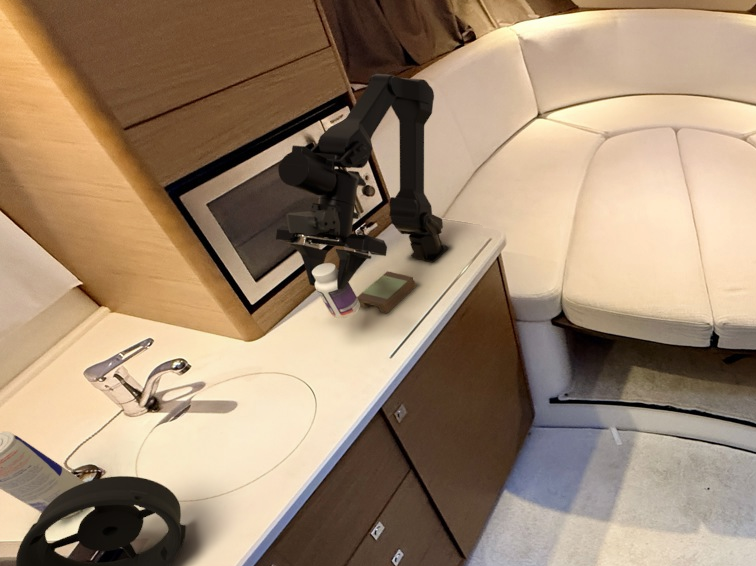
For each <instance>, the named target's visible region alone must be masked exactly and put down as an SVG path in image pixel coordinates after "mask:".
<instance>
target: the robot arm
mask: <svg viewBox="0 0 756 566" xmlns="http://www.w3.org/2000/svg"><path fill="white" fill-rule="evenodd" d="M434 100H435V92H434V89H433V88H432V86H430V84H429V83H428V81H427V80H425V79H424V78H423V79H422V78H408V77H407V78H405V77H399V76H396V75H394V74H382V73H374V74H373V75H370V77H369V80H368V84H367V86H366V87H365V89H364V91H362V93H361V95H360V97H359V98H358V100H357V101H356V102H355V104H354V106H353V107H352V108H351V110H350V111H349V113H348V114H347V116H346V117H345V118H344V119H343V120H342V121H340V122H337V123H335V124H333V125H330V127H328V128H327V129H326V130H325V131H324V132H323V133H322V134H321V135H320V136H319V139H318V141H317V143H316V144H315V145H314V146H313V147H312V148H311V149H310V148H308V147H306V146H304V145H291V152H289V153H287V154H286V155H284V157H283V158H282V159H281V161H280V162H279V163H278V167H277V168H278V169H277V171H278V177H279V178H280V180H281V181H282V182H283V183H284V184H285V185H287V186H290V187H292V188H296V189H298V190H300V191H303V192H306V193H308V194H311V195H314V196H318V203H317V202H316V203H315V202H312V204H311V205H310V210H308V211H297V212H289V213H286V219H287V225H280V226H279V227H278V228H277V229H276V233H275V234H276V235H275V240H276V241H280V242H284V243H288V244H289V245H290V247H292V248H295V250H296V251H297V252H298V253H299V255H300V256H301V259H302V261H303V264H304V269H305V272H306V275H307V279H308V282H309V285H310V286H313V287H315V281H316V280H315V278H314V276H313V274H312V270H313V269H314V268H315V267H317V266H318V265H321V264H324V263H325V261H326V257H327V254H328V250H325V249H321V247H320V246H321V245H324V246H332V247H340V248H343V249H340V248H335V252H336V254H337V256H338V260H339V261H338V268H337V269H338V278H337V288H338V289H341V290H343V289H344V288H345V286H346V285H347V283H348V282H349V283H350V281H351V280H352V278H353V276H354V275H355V274H356V273H357V271H358V270H359V269H360V268H361V266H363V264H364V263H365V262H366V261H367V260H371V259H372V256H371V255H374V256H382V257H387V251H388V245H387V244H386V241H385V240H384V239H381V238H377V237H374V236H371V235H367V234H359V233H353V224H354V220H359V217H360V213H358V212H355V208H356V200H357V191H358V186H360V187H366V186H367V182H366V181H365V179H364V178H363V177H362V176H361V174H360V172H359V171H356V170H345V169H352V168H353V169H362V168H364V167H365V166H366V165H367V164H368V162H369V159H370V157H371V154H372V151H373V142H372V138H373V135H374V134H375V132H376V131H377V129H378V127H379V126H380V124H381V123H382V121H383V119H384V118H385V117H386V114H388V111H389V110H390V108H391V110H393V112H394V114H395V116H396V117H397V120H398V126H399V132H398V133H399V191H398V192H397V194H396V196H395V197H394V196H391V197H390V199H389V214H388V216H389V217H390V222H391V225H393V226H394V228H395V229H396V230H397V231H398V232H399V233H400V234H401V235H408V239H409V241H410V244H409V245H410V247H411V250H412V253H411V254H410V257H411V258H413V259H416V260H420V261H426V262H431V263H433V262H436V260H437V259H439V258H440V257H441V256H442V255H443V254H444V253H445V252H447V250H448V249H449V246H448V245H444V244H443V242H442V239H441V236H440V235H441V234H442V233H443V232H442V230H443V228H444V223H443V218H441V217H439V216H437V215H435V214H433V210H432V204H431V203H430V201H429V199H428V197H427V196H426V194H425V125H426V123H427V122H428V120H429V119H430V117H431V116H432V114H433V108H434ZM343 168H345V169H343ZM369 254H370V255H369Z"/></svg>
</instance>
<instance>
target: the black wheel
mask: <svg viewBox="0 0 756 566" xmlns="http://www.w3.org/2000/svg"><path fill="white" fill-rule="evenodd" d="M84 482H85V483H82V484H80V485H77V486H75V487H73V488H71V489H69V490H67V491H65V492H64V493H62V494H61V495H59V496H58V497H56V498H55V499H54V500H53V501H52V502H51V503H50V504H49V505H48V506H47V507H46V508H45V509H44V511H43V512H42V513H41V514H40V516H39V517H38V519H37V521H36V522H35V523H33V524H32V525H31V527H30V528H29V529H28V531H27V532H26V534H25V536H24V537H23V539H22V541H21V543H20V545H19V547H18V550H17V554H16V560H15V564H16V566H170V565H171V564H172V563H173V561H174V560H175V559H176V557H177V556H178V554H179V552H180V550H181V549H182V546H183V544H184V541H185V538H186V533H187V525H186V524H182V523H181V518H182V508H181V504H180V501H179V499H178V497H177V496H176V495H175V494H174V492H172V490H170V489H169V488H168V487H166V485H165V486H164V485H163V484H161V483H160V482H157V481H156V480H155V481H154V480H151V479H148V478H145V477H138V476H129V475H128V476H127V475H118V476H107V477H101V478H96V479H92V480H89V481H84ZM138 507H139V508H138ZM91 508H94V509H92V510H91V511H89V512H88V513H87V514H86V515H85V516H84V517H83V518H82V520H81V521H80V523H79V525H78V528H77V532H76V533H73V534H71V535H68V536H66V537H63V538H59V539H58V540H54V541H53V542H48V540H47V535H46V532H47V531H48V530H49V529H50V528H52V526H54V524H56V523H57V522H59V521H61V520H62V519H65V518H64V517H66V516H68V515H70V514H72V513H74V512H77V511H79V512H81V511H83V510H86V509H91ZM140 508H141V509H140ZM142 508H143V509H142ZM80 510H81V511H80ZM77 513H78V512H77ZM154 514H156V515H157V516H158V517H160V518H161V519H162V520H163V521H164V523H165V524H166V526H167V532H166V533H165V534H164V536H163V537H162V538H161V539H160V540H159V541H158V542H157V543H155V544H154V545H153V546H151V547H150V548H148V549H146V550H144V551H142V552H138V553H137V552H136V550H135V548H134V546H133V545H132V543H133V542H134V541H135V540H136V539H137V538H138V537H139V536H140V534H141V532H142V529H143V526H144V523H145V521H144V518H147V517H149V516H152V515H154ZM66 518H67V517H66ZM77 542H78V543H79V544H80V545H81V546H83V548H86V549H88V550H90V551H95V552H109V551H115V550H120V549H122V550H123V551H124V552H125V554H126V555H127V556H128V557H126V558H123V559H119V560H114V561H105V562H88V561H80V560H75V559H71V558H69V557H67V556H64V555H62V554H61V553H58V552H57V551H55V550H56V549H59V548H63V547H65V546H68V545H71V544H72V545H73V544H74V543H77Z"/></svg>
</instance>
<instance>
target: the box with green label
mask: <svg viewBox="0 0 756 566" xmlns="http://www.w3.org/2000/svg"><path fill="white" fill-rule="evenodd" d="M416 287H417V284H416V282H415V279H414V277H413V276H409V275H405V274H402V273H396V272H392V271H388V270H387V271H386V272H384V273H383V274H382V275H381V276H380V277H379V278H377V279H376V280H375V281H374V282H373V283H371V284H370V285H369V286H368V287H367V288H366V289H364V290H363V291H362V292H361V293H360V294H359V295H358V296H356V297H357V299H358V300H359V303H360V308H361V307H362V308H364V309H367V308H368V307H369V306H374V307H378V308H379V311H380V313H384V314H388V313H389V312H390V311H392V310H393V308H395V307H396V306H397V305H398V304H399V303H400V302H401V301H402V300H403V299H404V298H405V297H406V296H407V295H409V293H410V292H412V291H413V290H414V289H415V288H416Z"/></svg>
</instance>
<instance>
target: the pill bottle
mask: <svg viewBox="0 0 756 566" xmlns="http://www.w3.org/2000/svg"><path fill="white" fill-rule="evenodd" d="M338 269H339V268H337V266H336V265H335V264H334V263H332V262H324V264H321V265H318V266H317V267H315V268H314V269H313V270H312V274H313V276H314V278H315V280H316V281H315V286H314V288H315V290H316V292H317V294H318V295H319V297H320V298H321V299H322V301H323V303H324V305H325V307H326V308H327V310H328V312H329V313H330V315H331V316H332V317H333V318H337V319H343V318H348V317H351V316H353V315H354V314H356V313H357V312H358V311H359V310H360V308H361V306H360V303H359V300H358V299H357V297H358V296H357V295H356V293H355V291H354V289H353V288H352V286H351V284H350V281H349V282H348V283H347V285H346V286H345V288H344V289H343V290H341V289H338V288H337V278H338Z"/></svg>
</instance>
